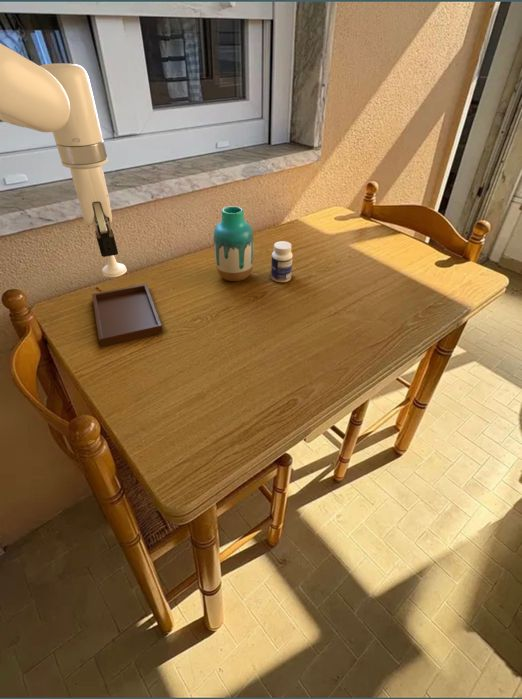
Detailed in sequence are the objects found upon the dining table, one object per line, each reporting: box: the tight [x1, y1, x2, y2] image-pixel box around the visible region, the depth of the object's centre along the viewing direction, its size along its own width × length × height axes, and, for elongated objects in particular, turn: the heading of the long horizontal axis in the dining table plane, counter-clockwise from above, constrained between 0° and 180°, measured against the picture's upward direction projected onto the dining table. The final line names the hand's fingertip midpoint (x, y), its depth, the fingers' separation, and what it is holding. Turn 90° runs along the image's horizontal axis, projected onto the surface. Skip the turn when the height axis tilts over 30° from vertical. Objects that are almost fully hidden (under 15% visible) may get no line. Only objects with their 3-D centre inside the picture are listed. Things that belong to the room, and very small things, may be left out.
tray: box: [91, 283, 164, 348], centre depth 92 cm, size 14×20×2 cm
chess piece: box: [100, 236, 128, 278], centre depth 77 cm, size 5×5×10 cm
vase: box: [213, 205, 255, 282], centre depth 101 cm, size 11×11×19 cm
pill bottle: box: [270, 240, 294, 283], centre depth 104 cm, size 6×6×10 cm
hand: (109, 251), depth 77 cm, fingers closed on chess piece
